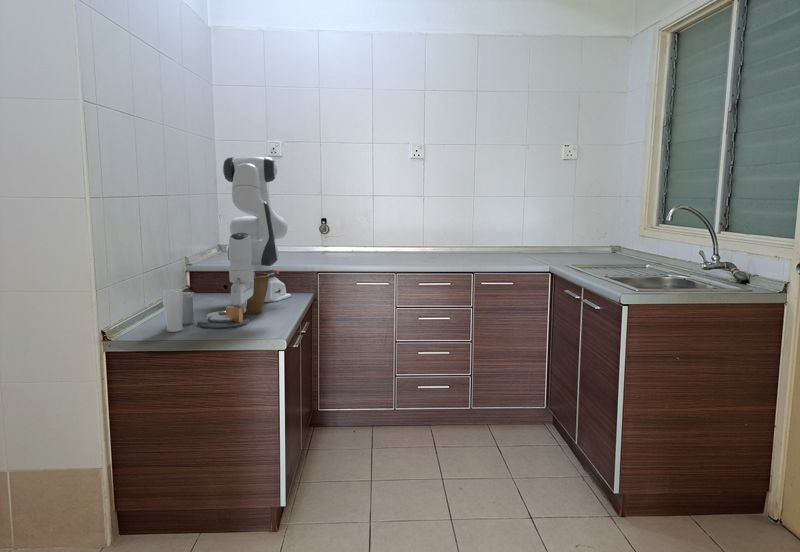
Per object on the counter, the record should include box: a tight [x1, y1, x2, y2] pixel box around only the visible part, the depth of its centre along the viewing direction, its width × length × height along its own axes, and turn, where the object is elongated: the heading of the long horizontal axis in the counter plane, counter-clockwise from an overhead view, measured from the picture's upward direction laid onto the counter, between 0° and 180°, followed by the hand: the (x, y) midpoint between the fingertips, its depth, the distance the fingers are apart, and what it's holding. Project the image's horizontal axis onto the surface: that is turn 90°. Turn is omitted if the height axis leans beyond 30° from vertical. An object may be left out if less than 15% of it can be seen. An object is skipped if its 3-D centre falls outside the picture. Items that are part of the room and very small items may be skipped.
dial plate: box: [197, 315, 250, 330], centre depth 225 cm, size 19×19×2 cm
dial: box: [206, 305, 244, 323], centre depth 223 cm, size 16×12×5 cm
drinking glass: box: [162, 288, 184, 333], centre depth 211 cm, size 7×7×15 cm
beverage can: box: [182, 291, 195, 326], centre depth 223 cm, size 6×6×12 cm
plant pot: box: [244, 273, 269, 315], centre depth 244 cm, size 15×15×16 cm
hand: (243, 312), depth 222 cm, fingers closed
